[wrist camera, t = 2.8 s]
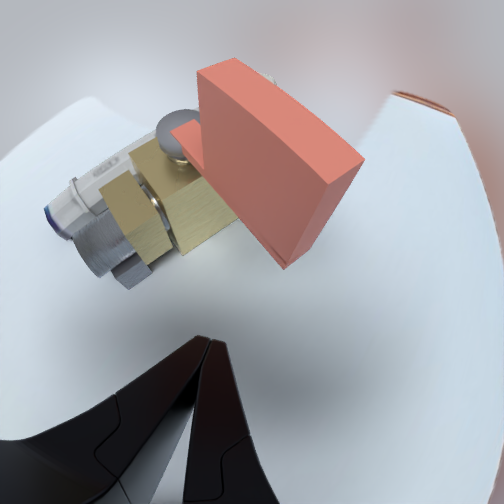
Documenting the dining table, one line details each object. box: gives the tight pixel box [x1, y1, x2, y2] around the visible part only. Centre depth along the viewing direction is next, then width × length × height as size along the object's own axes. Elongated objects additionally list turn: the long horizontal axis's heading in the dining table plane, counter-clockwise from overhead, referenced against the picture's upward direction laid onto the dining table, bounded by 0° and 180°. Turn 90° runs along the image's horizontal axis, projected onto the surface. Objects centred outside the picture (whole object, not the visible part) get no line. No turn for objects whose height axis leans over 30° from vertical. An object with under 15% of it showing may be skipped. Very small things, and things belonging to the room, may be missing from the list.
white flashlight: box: [44, 73, 277, 240], centre depth 25 cm, size 5×7×25 cm
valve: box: [72, 137, 238, 290], centre depth 20 cm, size 16×5×9 cm, turn 129°
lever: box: [156, 58, 365, 270], centre depth 12 cm, size 11×3×7 cm, turn 39°
